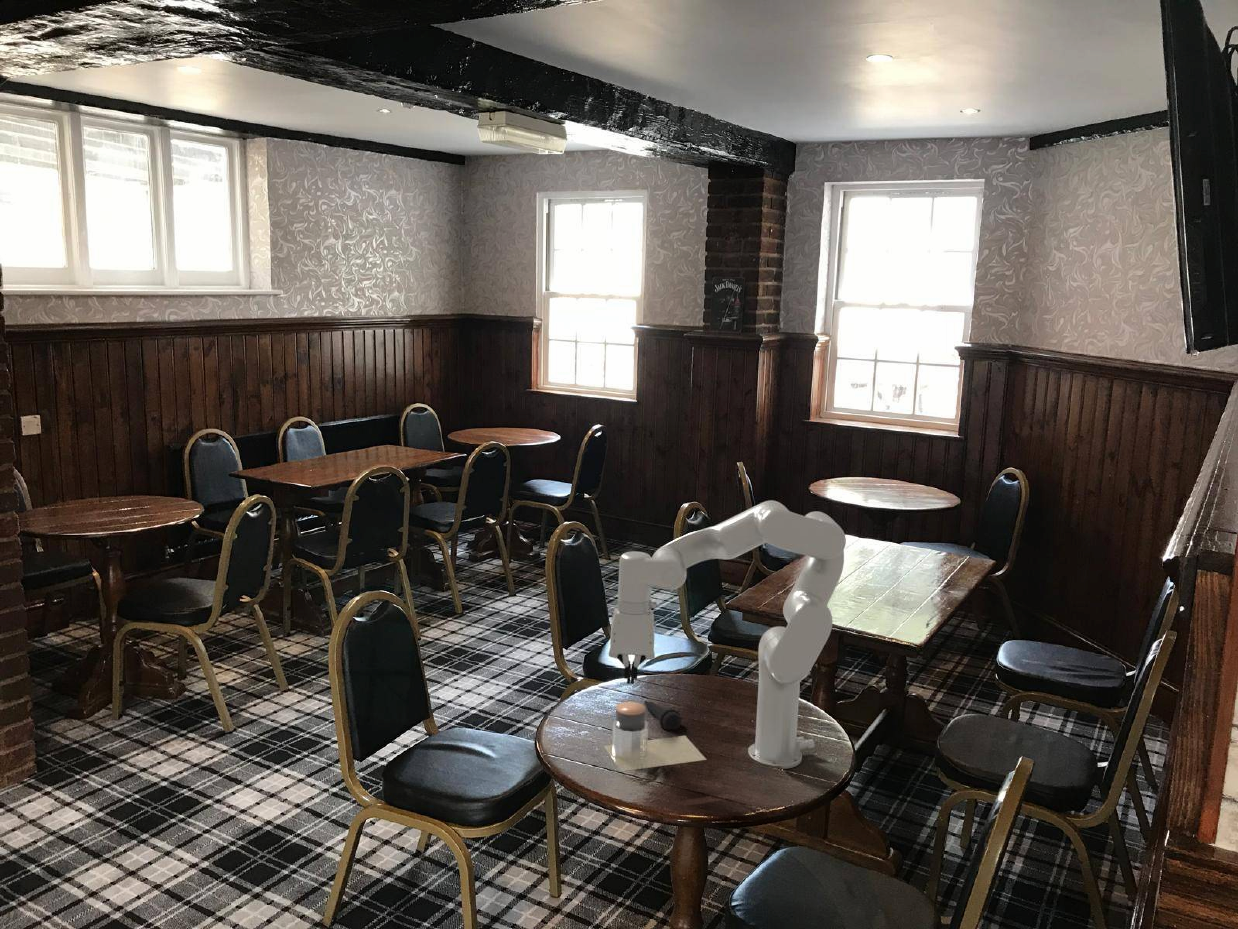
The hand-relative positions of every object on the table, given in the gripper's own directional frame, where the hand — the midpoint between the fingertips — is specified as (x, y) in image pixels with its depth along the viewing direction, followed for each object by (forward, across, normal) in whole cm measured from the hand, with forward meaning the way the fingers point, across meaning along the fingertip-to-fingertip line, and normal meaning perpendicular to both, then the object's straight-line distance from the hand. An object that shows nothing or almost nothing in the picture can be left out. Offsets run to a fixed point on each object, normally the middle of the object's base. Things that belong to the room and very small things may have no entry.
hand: (630, 681), depth 230 cm
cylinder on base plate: (+18, -6, 0) cm, 20 cm away
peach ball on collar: (+13, 0, 0) cm, 14 cm away
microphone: (+19, -9, -21) cm, 30 cm away
